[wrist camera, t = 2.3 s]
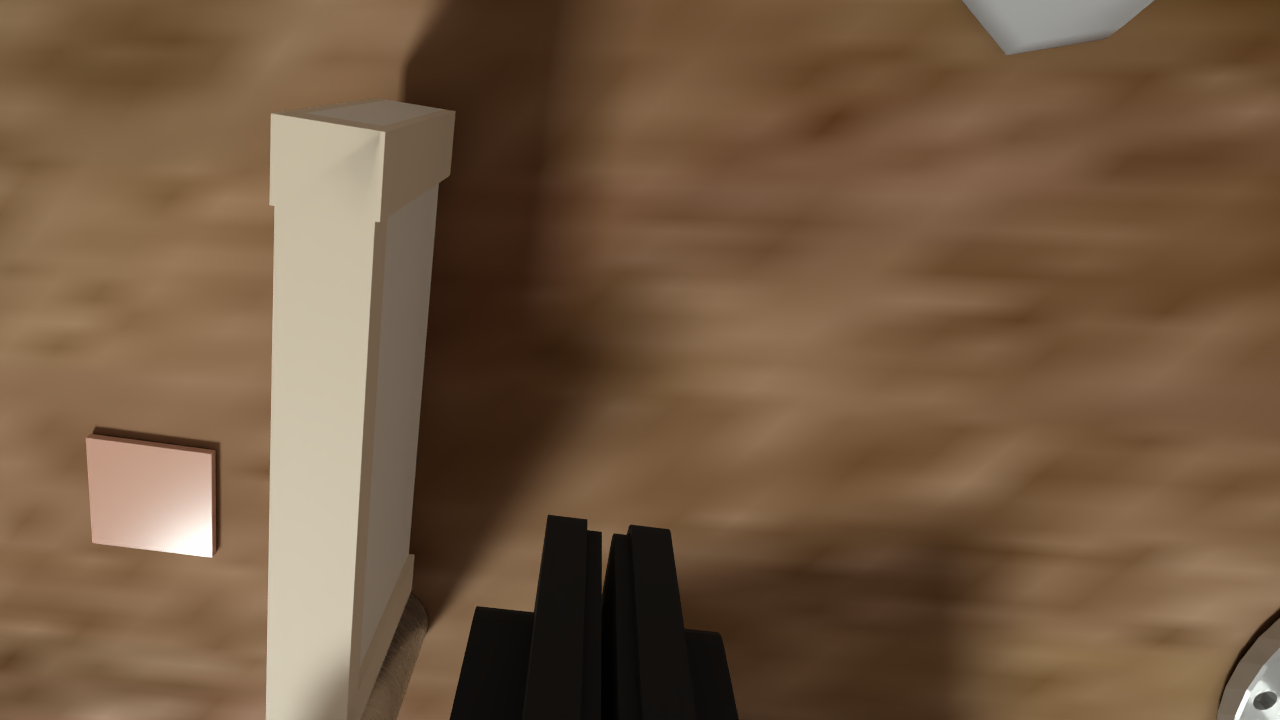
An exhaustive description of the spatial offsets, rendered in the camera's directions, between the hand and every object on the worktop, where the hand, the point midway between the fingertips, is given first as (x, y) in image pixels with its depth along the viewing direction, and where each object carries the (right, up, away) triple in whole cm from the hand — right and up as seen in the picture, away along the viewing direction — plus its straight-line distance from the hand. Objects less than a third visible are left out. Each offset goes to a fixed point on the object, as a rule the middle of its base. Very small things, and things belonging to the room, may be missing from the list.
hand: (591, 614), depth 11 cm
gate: (-7, +3, +15) cm, 16 cm away
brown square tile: (-16, -1, +17) cm, 23 cm away
